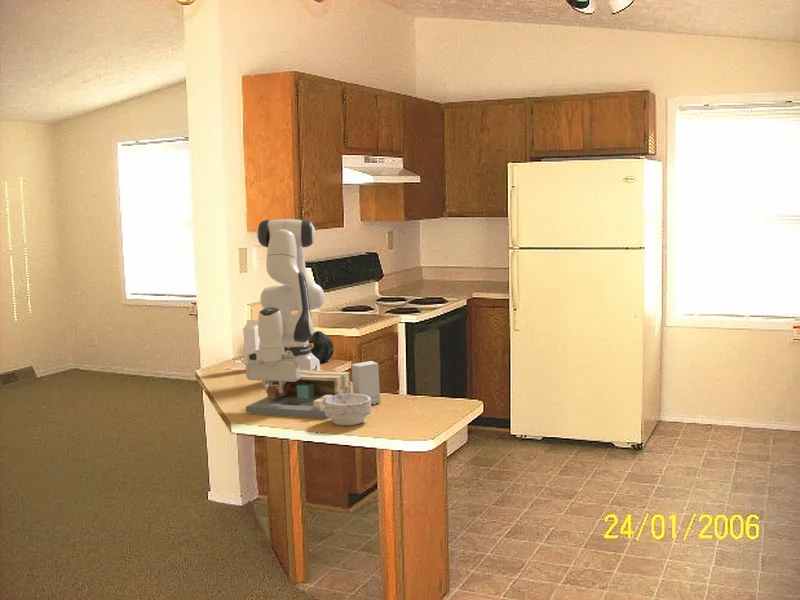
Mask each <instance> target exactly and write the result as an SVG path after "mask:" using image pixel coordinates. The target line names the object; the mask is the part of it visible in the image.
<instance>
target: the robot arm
mask: <svg viewBox="0 0 800 600" xmlns="http://www.w3.org/2000/svg"><path fill="white" fill-rule="evenodd" d="M314 226H315V225H314V224H313V222H312V221H310V220H307V219H295V218H294V219H293V218H282V219H265V220H262V221H261V222H259V224H258V227H257V230H256V238H257V240H258V243H259V244H260V245H261V246H262V247H265V248H267V249H266V250H267V251H266V263H265V264H266V272H267V274H268V276H269V277H270V278H271V279H272V280H274V281H275V282H277V283H278V285H277V284H276V285H271V286H268V287H265V288H264V289H263V290H262V291H261V294H260V298H259V299H260V300H259V301H260V305H261V306H262V308H263V309H261V310H260V311H259V312H258V318H257V320H258V336H259V339H260V343H259V350H257V351H255V352H252V353H250V354H248V355H247V360H249V361H248V362H247V364H246V366H245V377H246V378H247V380H249V381H261V382H262V383H261V384H262V385H263V387H264V389H265V394H267V386H269V381H279V384H280V387H279V388H277V394H281V393H283V387H284V385H285V382H296V381H298V380H299V379H300V370H314V371H326V370H324V369H321V362H320V361H319V359H317V358H316V357H315V356H314V355H313V354H312V353H311V352H312V351H311V348H313V347H314V344H313V343H311V344H310V343H309V341H308V340H309V339H310V338H311V337H312V336H313V333H314V332H315V331H314V330H315V329H314V322H313V318H312V312H311V311H314V310H318V309H321V307H322V306H323V305H324V301H325V292H324V290H323V287H321V286H320V285H319V284H317V283H316V282H314V281H313V279H311V278H310V276H309V274H308V271H307V268H306V258H305V248H308V247H310V246H312V245H313V244H314V241H315V239H316V228H315V227H314ZM293 312H297V313H296V314H292V313H293Z"/></svg>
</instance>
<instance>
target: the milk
mask: <svg viewBox="0 0 800 600" xmlns="http://www.w3.org/2000/svg"><path fill="white" fill-rule="evenodd" d="M242 330H243V344H244V345H243V346H244V347H243V348H244V362H245V364H244V365H245V367H246V364H247V362H248V361H249V360H247V355H248V354H250V353H252V352H255V351H257V350H259V343H260V339H259V336H258V319H257V320H255V319H247V320H246V324H245V325H244V326H243V328H242Z"/></svg>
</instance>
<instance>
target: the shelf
mask: <svg viewBox="0 0 800 600" xmlns="http://www.w3.org/2000/svg"><path fill="white" fill-rule="evenodd" d="M350 374H351V373H350V371H336V370H335V371H334V370H332V371H331V370H325V371H314V370H300V379H299V380H298V381H296V382H308V383H314V393H334V394H335V395H339V394H352V393H351V391H352V390H351V375H350ZM275 384H279V381H269V382H268V385H269V386H271V385H275Z"/></svg>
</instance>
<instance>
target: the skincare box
mask: <svg viewBox="0 0 800 600" xmlns="http://www.w3.org/2000/svg"><path fill="white" fill-rule="evenodd" d="M351 378H352V394H363V395H367V396H369V397H370V398H371V404H374V405H377V404H376V403H380V404H381V391H380V390H381V389H380V375H379V363H377V362H375V361H373V360H369V361H368V360H367V361H362V362H358V363H352V364H351Z"/></svg>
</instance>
